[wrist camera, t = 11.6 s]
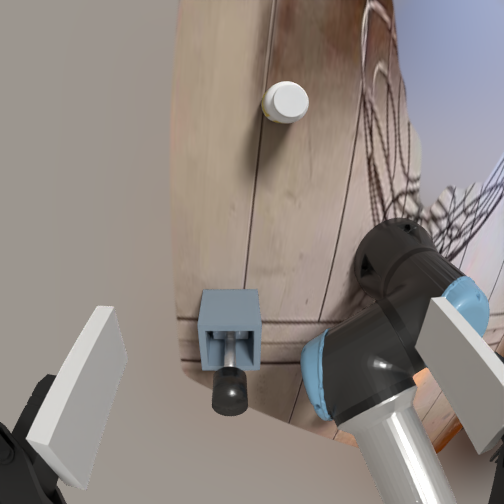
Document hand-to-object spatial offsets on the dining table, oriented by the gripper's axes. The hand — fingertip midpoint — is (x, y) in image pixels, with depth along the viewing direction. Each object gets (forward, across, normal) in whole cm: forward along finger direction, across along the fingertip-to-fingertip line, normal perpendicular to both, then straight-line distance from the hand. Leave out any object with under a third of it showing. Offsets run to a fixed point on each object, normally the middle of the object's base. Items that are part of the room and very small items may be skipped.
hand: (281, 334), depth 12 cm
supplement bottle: (+37, -4, -10) cm, 39 cm away
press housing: (+37, +3, +24) cm, 44 cm away
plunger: (+34, +3, +24) cm, 41 cm away
